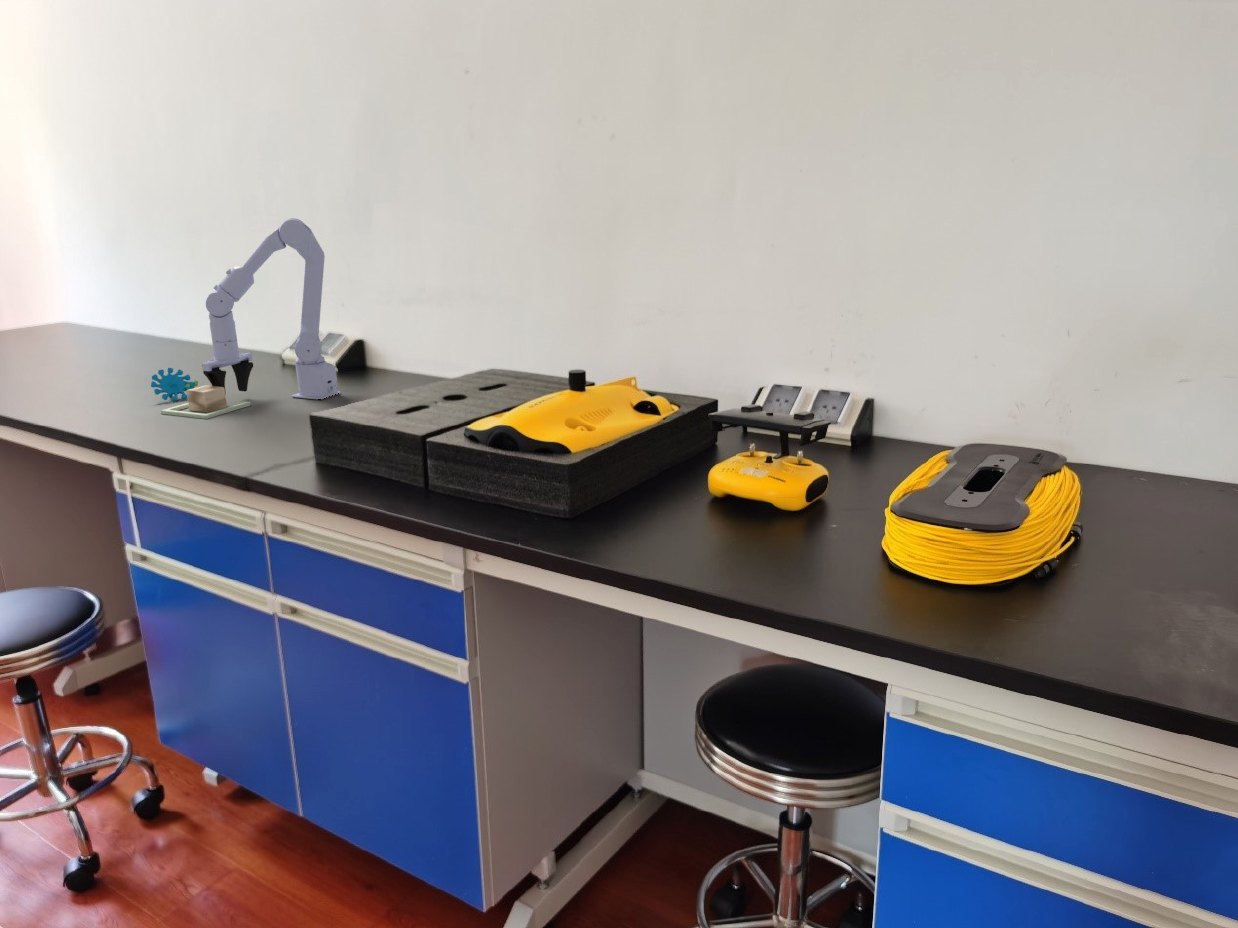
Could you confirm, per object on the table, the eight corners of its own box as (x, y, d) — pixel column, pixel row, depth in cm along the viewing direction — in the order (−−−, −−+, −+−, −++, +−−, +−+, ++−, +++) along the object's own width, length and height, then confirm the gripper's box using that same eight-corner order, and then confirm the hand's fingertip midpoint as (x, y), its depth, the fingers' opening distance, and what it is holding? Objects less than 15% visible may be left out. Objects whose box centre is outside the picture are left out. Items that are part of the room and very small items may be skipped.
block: (227, 407, 224) (224, 387, 222) (207, 412, 218) (204, 392, 217) (209, 404, 226) (206, 385, 224) (189, 410, 221) (186, 390, 219)
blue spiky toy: (153, 398, 226) (148, 365, 230) (151, 411, 230) (146, 379, 234) (201, 398, 232) (196, 366, 236) (198, 411, 236) (193, 379, 240)
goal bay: (250, 405, 225) (250, 402, 225) (206, 418, 213) (206, 415, 212) (206, 400, 230) (206, 397, 230) (161, 413, 218) (160, 410, 217)
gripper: (234, 334, 232) (241, 386, 236) (189, 344, 219) (197, 399, 224) (255, 336, 230) (262, 388, 234) (211, 346, 217) (219, 401, 221)
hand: (232, 394), depth 229 cm, fingers open, 7 cm apart
